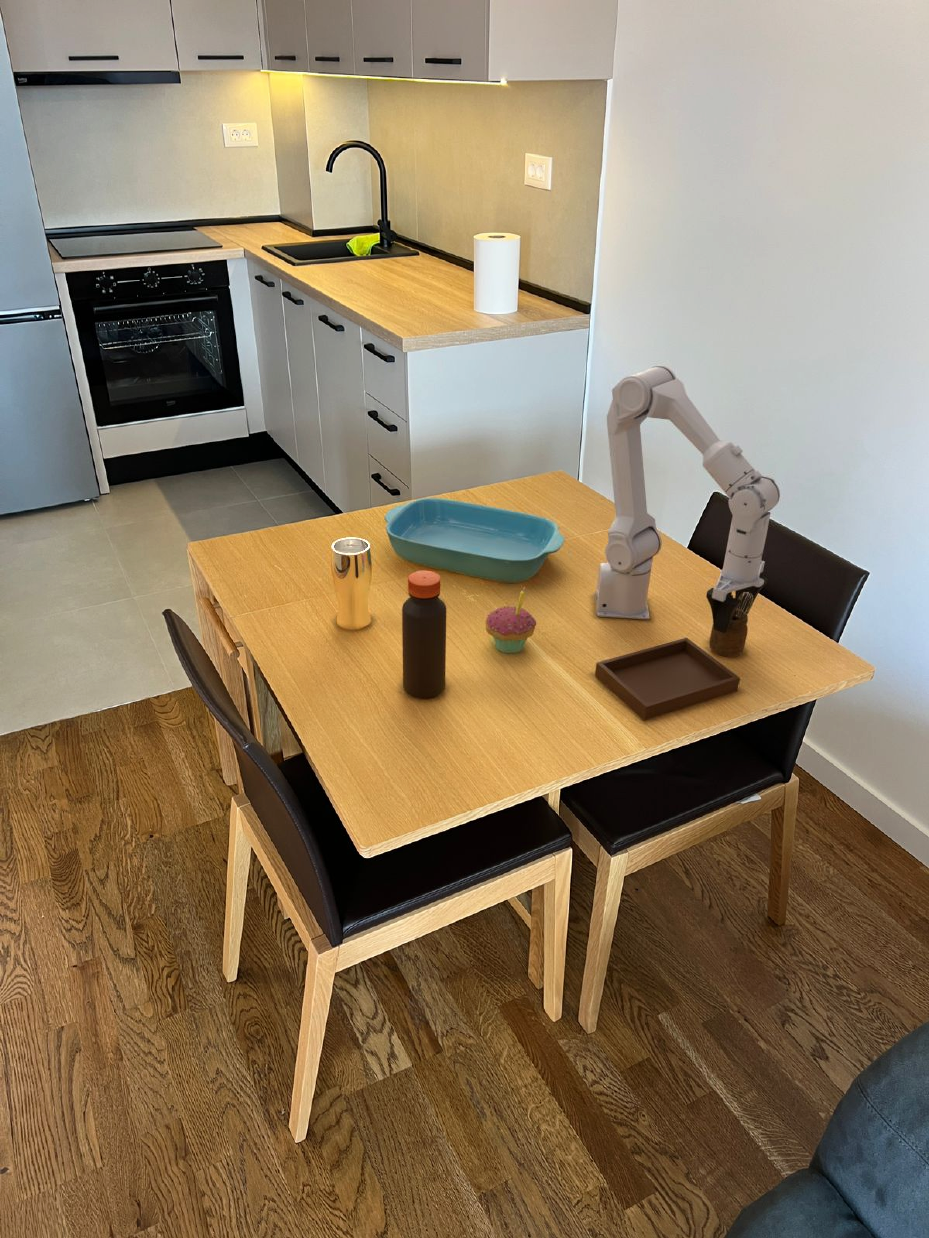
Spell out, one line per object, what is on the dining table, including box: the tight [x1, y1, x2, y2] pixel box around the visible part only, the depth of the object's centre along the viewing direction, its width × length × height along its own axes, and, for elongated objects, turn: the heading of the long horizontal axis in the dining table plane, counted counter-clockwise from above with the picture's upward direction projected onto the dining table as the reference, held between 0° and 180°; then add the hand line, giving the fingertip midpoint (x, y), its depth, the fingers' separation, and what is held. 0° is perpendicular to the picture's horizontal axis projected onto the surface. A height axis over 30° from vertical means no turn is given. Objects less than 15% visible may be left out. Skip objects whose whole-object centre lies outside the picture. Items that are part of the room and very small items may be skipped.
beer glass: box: [330, 537, 373, 631], centre depth 164 cm, size 7×7×15 cm
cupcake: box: [485, 587, 537, 654], centre depth 159 cm, size 9×8×12 cm
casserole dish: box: [384, 497, 565, 584], centre depth 189 cm, size 37×22×7 cm, turn 70°
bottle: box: [401, 570, 447, 700], centre depth 146 cm, size 7×7×20 cm
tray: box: [594, 637, 741, 721], centre depth 153 cm, size 19×14×3 cm
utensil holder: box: [708, 592, 754, 658], centre depth 160 cm, size 6×6×12 cm
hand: (730, 621), depth 160 cm, fingers open, 7 cm apart
